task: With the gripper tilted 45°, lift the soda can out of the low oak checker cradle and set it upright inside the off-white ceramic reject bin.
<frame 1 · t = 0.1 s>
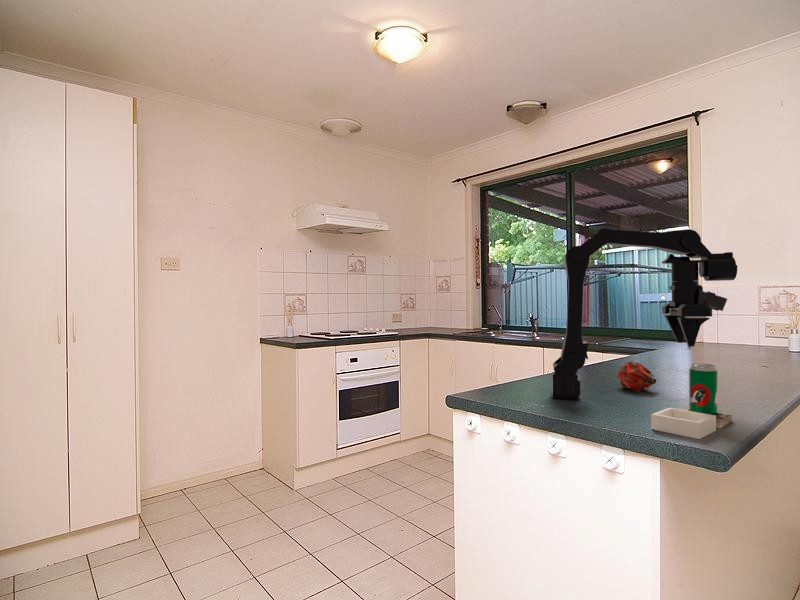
hand: (685, 344, 114), 15 cm above the worktop, tool pointing down, fingers open, 9 cm apart
dragon fruit: (636, 390, 131), on the worktop
reject bin: (683, 429, 92), on the worktop
soda can: (703, 421, 99), resting in checker cradle
checker cradle: (703, 420, 99), on the worktop
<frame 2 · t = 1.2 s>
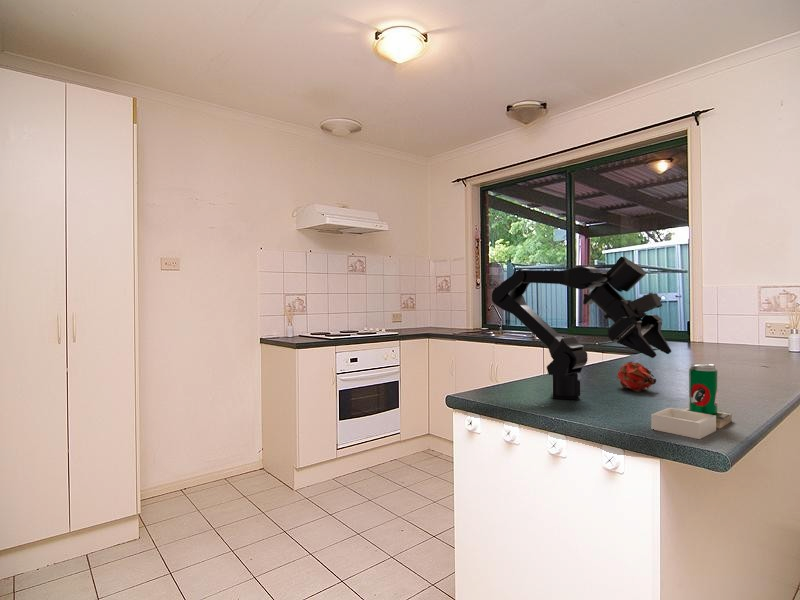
hand: (662, 354, 105), 13 cm above the worktop, tool tilted 45°, fingers open, 9 cm apart
nothing on the worktop moved.
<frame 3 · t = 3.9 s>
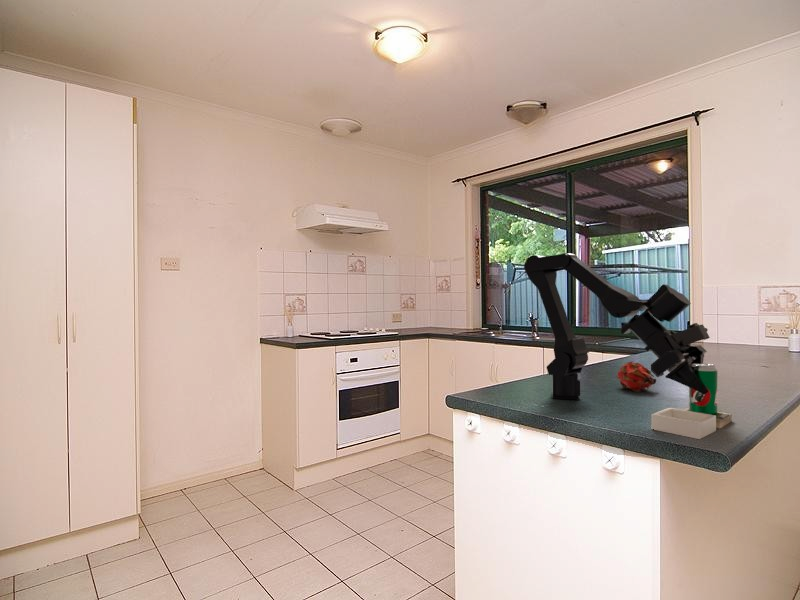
hand: (710, 390, 98), 7 cm above the worktop, tool tilted 45°, fingers closed on soda can, 5 cm apart
soda can: (703, 421, 99), resting in checker cradle, touching gripper
everything else where it was.
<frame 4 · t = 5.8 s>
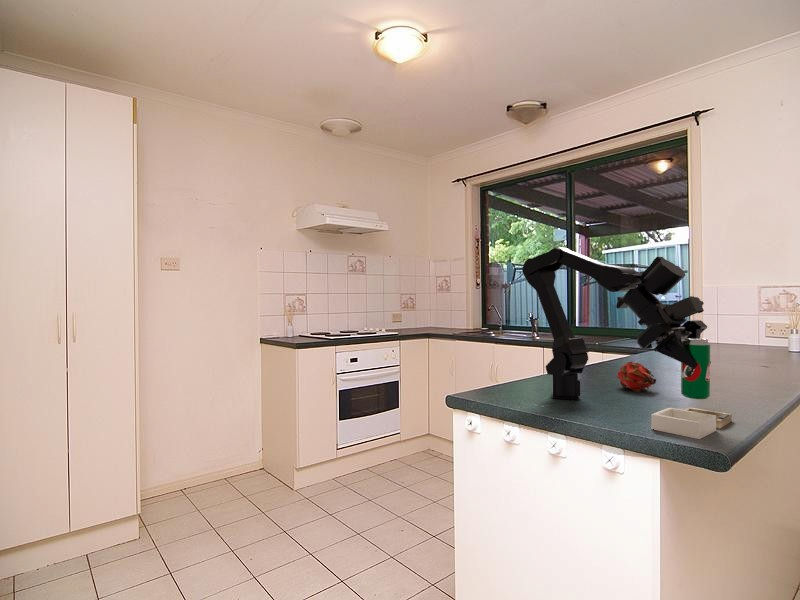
hand: (702, 365, 94), 13 cm above the worktop, tool tilted 45°, fingers closed on soda can, 5 cm apart
soda can: (695, 398, 95), point 6 cm above the worktop, touching gripper
everything else where it was.
when the fingers open (8 cm above the worktop, at t = 7.6 s): soda can stays where it is, resting on reject bin.
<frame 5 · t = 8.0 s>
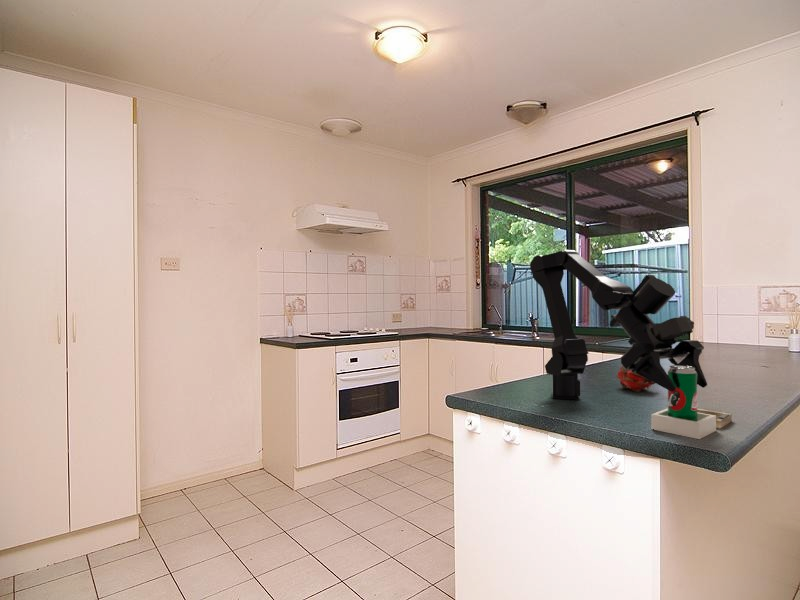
hand: (690, 388, 91), 9 cm above the worktop, tool tilted 45°, fingers open, 9 cm apart
soda can: (682, 427, 92), resting on reject bin
everything else where it was.
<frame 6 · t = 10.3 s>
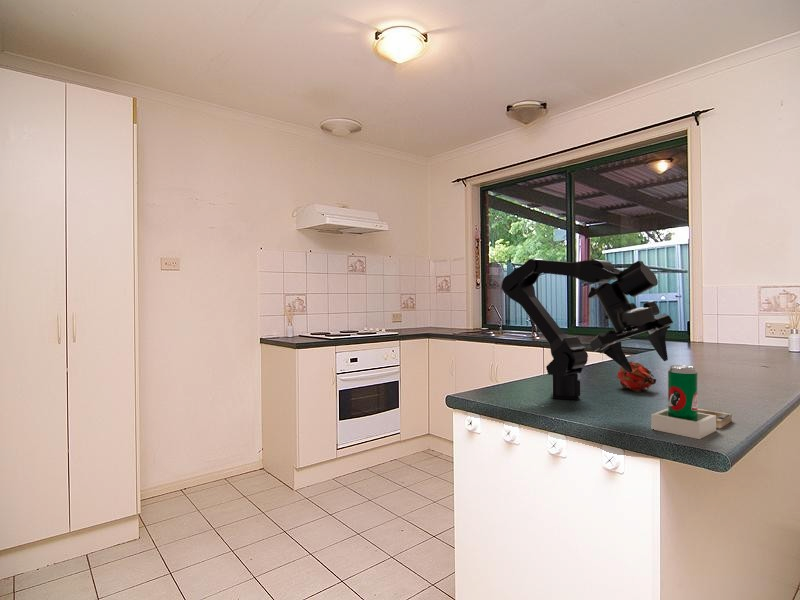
hand: (648, 366, 106), 11 cm above the worktop, tool tilted 30°, fingers open, 9 cm apart
nothing on the worktop moved.
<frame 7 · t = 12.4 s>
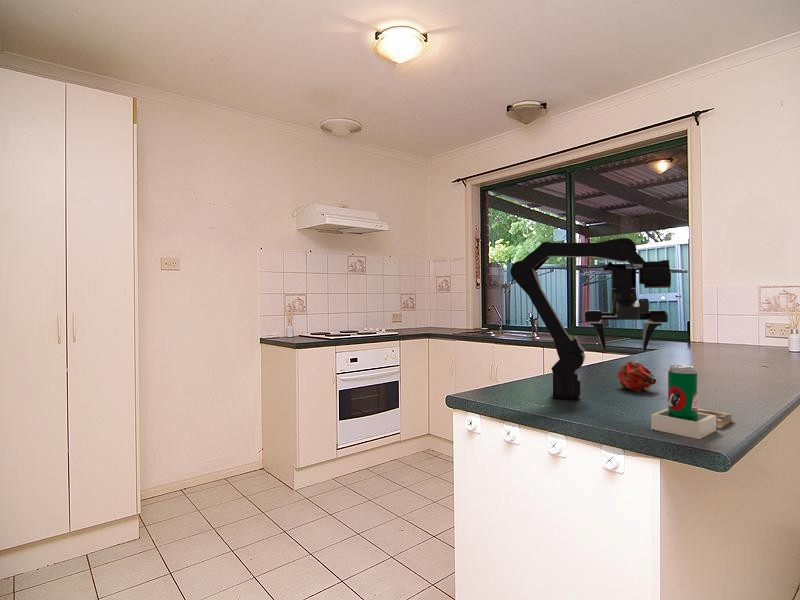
hand: (623, 350, 117), 13 cm above the worktop, tool pointing down, fingers open, 9 cm apart
nothing on the worktop moved.
at the end: soda can 0.1 cm off-centre on the reject bin, point 0.4 cm above the reject bin's base; soda can tilted 0°; the gripper is holding nothing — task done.
